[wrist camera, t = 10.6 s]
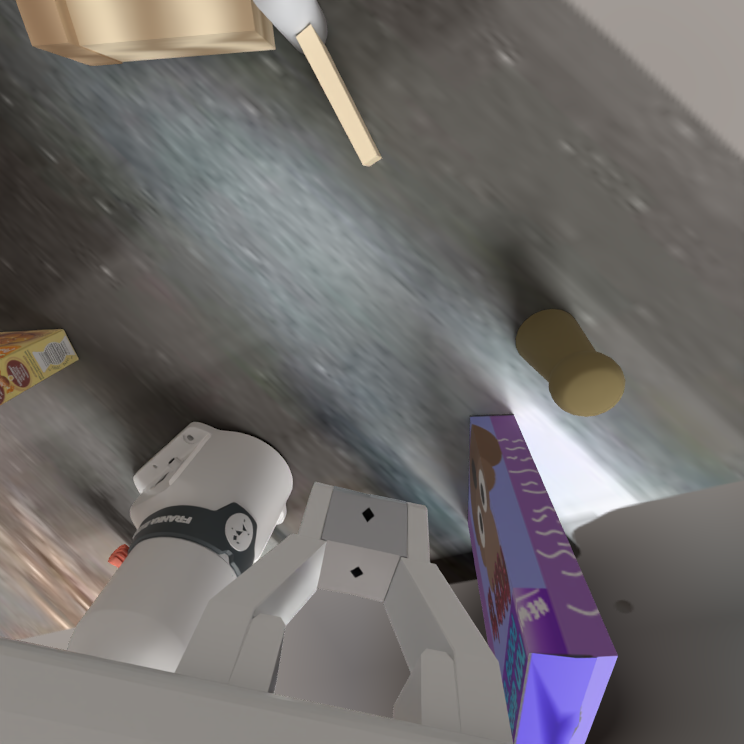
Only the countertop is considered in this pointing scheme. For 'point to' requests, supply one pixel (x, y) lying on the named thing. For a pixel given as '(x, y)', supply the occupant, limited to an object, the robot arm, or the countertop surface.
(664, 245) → the countertop surface
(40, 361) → the candy box
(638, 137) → the countertop surface
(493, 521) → the cereal box
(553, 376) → the cork
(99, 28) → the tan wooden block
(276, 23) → the posts
